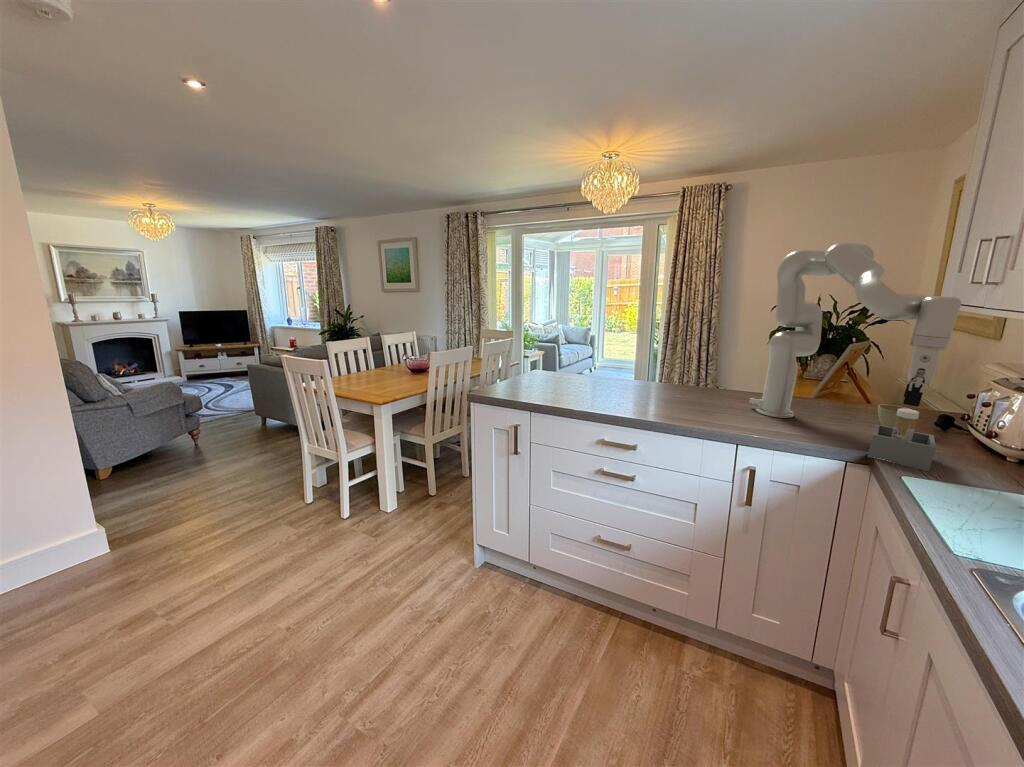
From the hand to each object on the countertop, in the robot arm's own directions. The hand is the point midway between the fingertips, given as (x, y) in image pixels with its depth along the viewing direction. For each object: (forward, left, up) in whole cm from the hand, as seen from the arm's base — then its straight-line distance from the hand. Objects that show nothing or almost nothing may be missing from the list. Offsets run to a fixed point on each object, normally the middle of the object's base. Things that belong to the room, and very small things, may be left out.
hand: (910, 401), depth 119 cm
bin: (0, 0, -17) cm, 17 cm away
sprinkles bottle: (0, 0, -16) cm, 16 cm away
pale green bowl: (-2, +34, -17) cm, 38 cm away
